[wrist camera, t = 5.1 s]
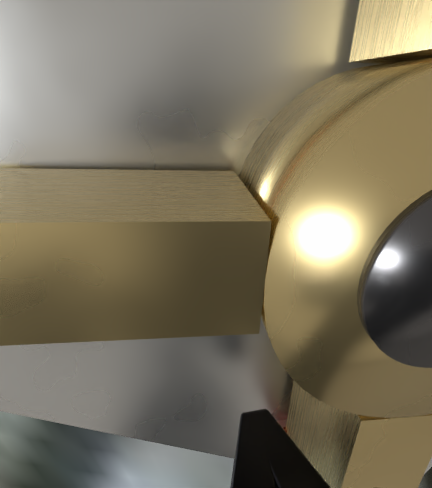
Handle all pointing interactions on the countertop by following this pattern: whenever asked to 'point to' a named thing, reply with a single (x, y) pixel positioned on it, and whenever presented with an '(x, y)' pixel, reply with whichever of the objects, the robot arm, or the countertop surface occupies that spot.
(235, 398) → the flange plate
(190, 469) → the countertop surface
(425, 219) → the brass cross latch
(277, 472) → the robot arm
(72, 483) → the countertop surface
